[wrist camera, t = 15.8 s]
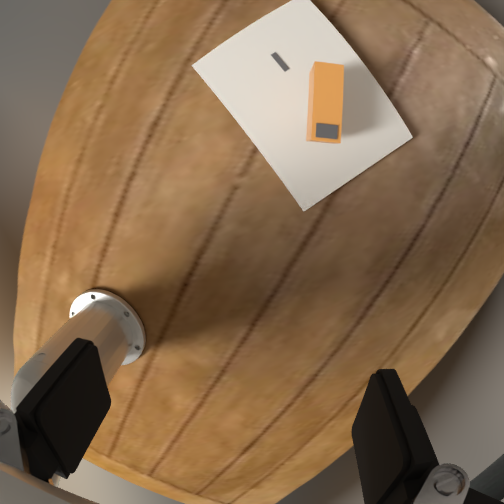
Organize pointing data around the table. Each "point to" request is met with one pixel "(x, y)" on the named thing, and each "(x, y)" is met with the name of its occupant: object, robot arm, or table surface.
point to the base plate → (301, 99)
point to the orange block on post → (325, 103)
